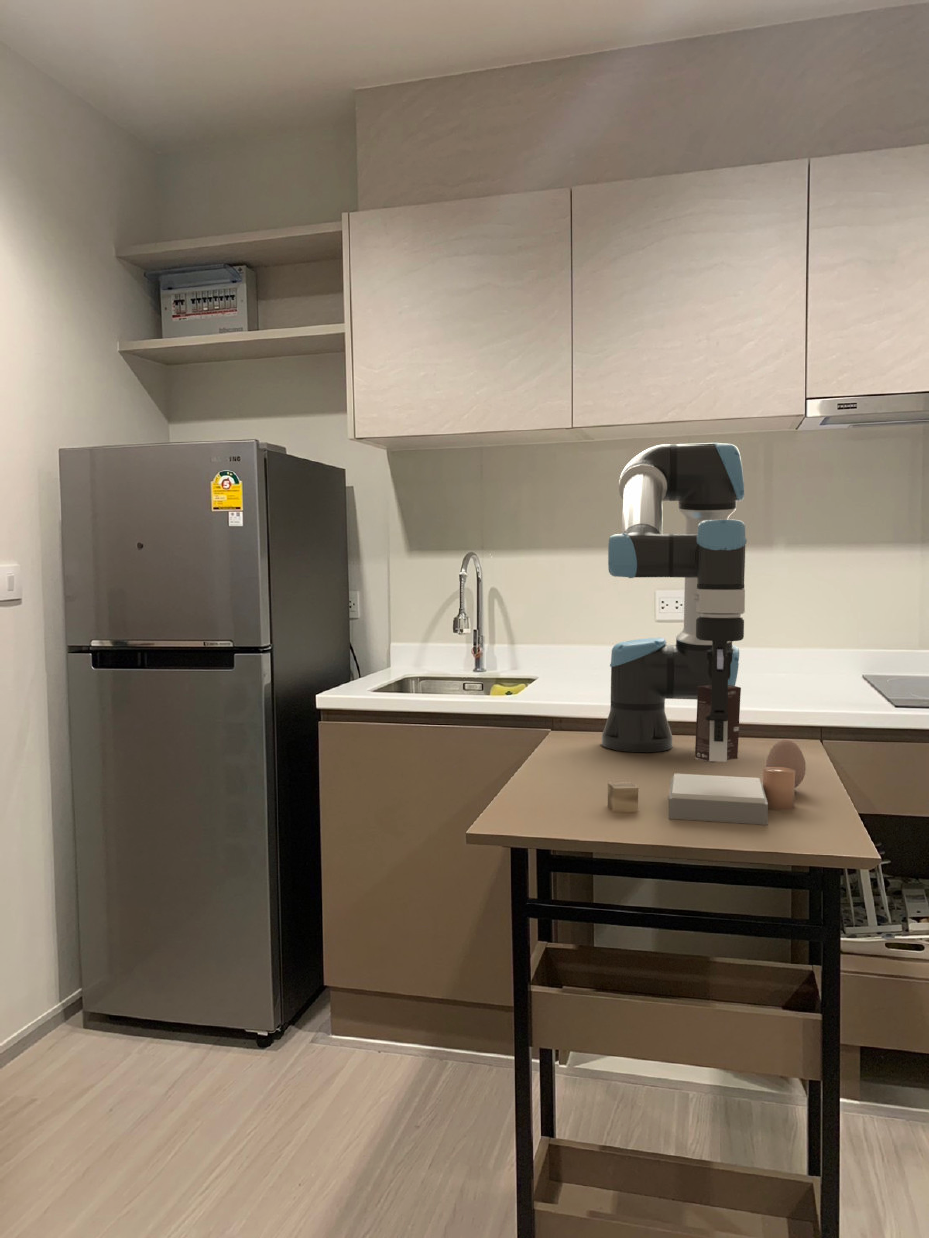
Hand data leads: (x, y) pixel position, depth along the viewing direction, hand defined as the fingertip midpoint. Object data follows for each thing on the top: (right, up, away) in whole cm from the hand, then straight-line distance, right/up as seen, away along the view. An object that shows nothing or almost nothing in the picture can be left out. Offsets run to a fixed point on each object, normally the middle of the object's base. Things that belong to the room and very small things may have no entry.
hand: (717, 755), depth 157 cm
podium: (0, -9, +1) cm, 9 cm away
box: (0, -1, 0) cm, 1 cm away
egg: (+16, -8, +13) cm, 22 cm away
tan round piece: (+11, -9, +3) cm, 14 cm away
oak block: (-15, -9, +1) cm, 18 cm away
